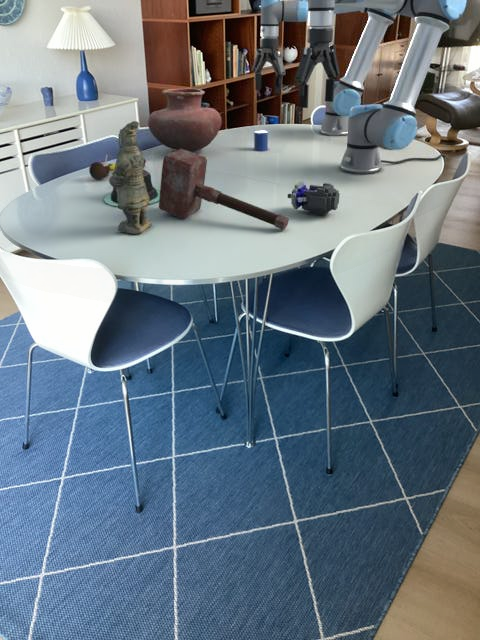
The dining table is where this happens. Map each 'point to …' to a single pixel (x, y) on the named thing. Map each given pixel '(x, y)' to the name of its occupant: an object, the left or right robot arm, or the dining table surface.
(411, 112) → the right robot arm
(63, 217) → the dining table surface
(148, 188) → the chocolate cake
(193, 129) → the clay pot
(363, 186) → the dining table surface
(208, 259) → the dining table surface
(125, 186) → the statue
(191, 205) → the sledgehammer
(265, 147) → the can
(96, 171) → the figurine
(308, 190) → the toy
